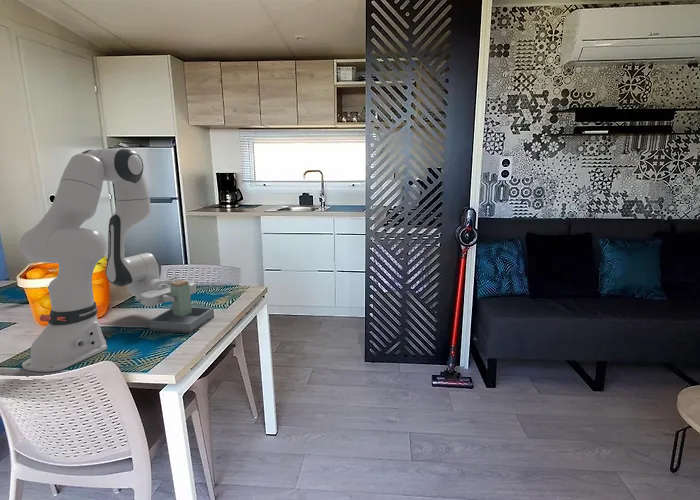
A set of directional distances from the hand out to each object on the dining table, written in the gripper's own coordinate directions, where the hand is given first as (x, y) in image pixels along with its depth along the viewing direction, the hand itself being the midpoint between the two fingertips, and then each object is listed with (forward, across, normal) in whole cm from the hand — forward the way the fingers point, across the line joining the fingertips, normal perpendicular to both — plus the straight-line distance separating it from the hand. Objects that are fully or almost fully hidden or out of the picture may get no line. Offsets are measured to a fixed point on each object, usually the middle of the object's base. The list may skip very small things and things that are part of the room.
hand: (182, 296), depth 145 cm
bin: (-1, 0, +10) cm, 10 cm away
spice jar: (-1, 0, +6) cm, 7 cm away
